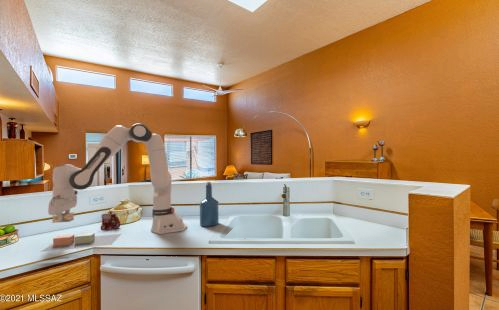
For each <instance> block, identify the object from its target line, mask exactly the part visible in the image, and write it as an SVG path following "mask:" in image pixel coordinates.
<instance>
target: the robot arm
mask: <svg viewBox="0 0 499 310" xmlns="http://www.w3.org/2000/svg"><path fill="white" fill-rule="evenodd" d="M128 141H129V142H133V143H136V144H142V143H143V144H144V145H145V147H146V153H147V157H148V162H149V173H150V174H149V175H150V183H151V185H152V187H153V196H152V207H153V208H152V210H151V213H152V214H151V216H152V224H151V227H150V232H151V233H155V234H157V235H164V234H170V233H174V232H175V233H177V232H182V231H185V230H186V229H187V228H188V227H187V224H186V223H185V222H184V220H183V217H182V216H180V215H179V214H177V213H175V207H172V175H171V173H170V172H169V166H168V158H167V152H166V147H165V144H164V141H163V138H162V136H161V135H160V134H158V133H152V131H151V130H150V129H149V128H148V127H147V126H146V125H145V124H143V123H139V122H138V123H135V124H133V125H132V126H130V128H129V127H125V126H124V125H120V124H119V125H118V124H117V125H115V126H114V127H112V129H110V130H109V131H108V132H107V133H106V134H105V135H104V136H103V138H102V139H101V140H100V142H99V144H98V146H97V148H96V150H95V152H94V154H93V156H92V157H91V158H90V159H89V161H87V163H86V164H85V165H84V166H83V167H82V168H80V167H77V166H75V165H73V164H71V163H67V164H60V165H57V166H55V167H54V168H53V170H52V185H53V187H52V198H51V199H50V201H49V203H48V208H47V210H48V211H47V212H48V215H49V216H52V215H57V217H58V221H61V220H63V217H62V213H71V209H73V208H75V207H76V206H77V204H78V196H77V195H78V194H79V193H78V190H79V191H82V190H85V189H87V188H90V186H91V185H92V184H93V182H94V177H95V174H96V173H97V172H98V171H99V170H100V168H101V167H102V165H104V164H105V162H107V160H109V159H110V158H111V157H113V156H114V155H116V154H117V153H118V152H119V151H120V150H121V149H122V148H123V147H124V146H125V144H126V143H127V142H128Z"/></svg>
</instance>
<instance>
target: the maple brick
mask: <svg viewBox="0 0 499 310" xmlns="http://www.w3.org/2000/svg"><path fill="white" fill-rule="evenodd" d="M74 215H75V213H74V212H69V213H65V212H62V217H63V220H61V221H58V217H57V215H51V217H52V219H51V220H52V224H55V223H68V222H71V221H74V220H75V219H74V218H75V217H74Z"/></svg>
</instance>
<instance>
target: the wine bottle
mask: <svg viewBox="0 0 499 310" xmlns="http://www.w3.org/2000/svg"><path fill="white" fill-rule="evenodd" d="M212 191H213V187H212V183H211V181H207V182H206V184H205V198H204V199H203V200H201V201H200V202H199V226H201V227H204V228H209V227H210V228H211V227H216V226H217V225H219V221H220V220H219V216H220V215H219V201H218V200H217V199H216V198H214V197H213V192H212Z"/></svg>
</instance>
